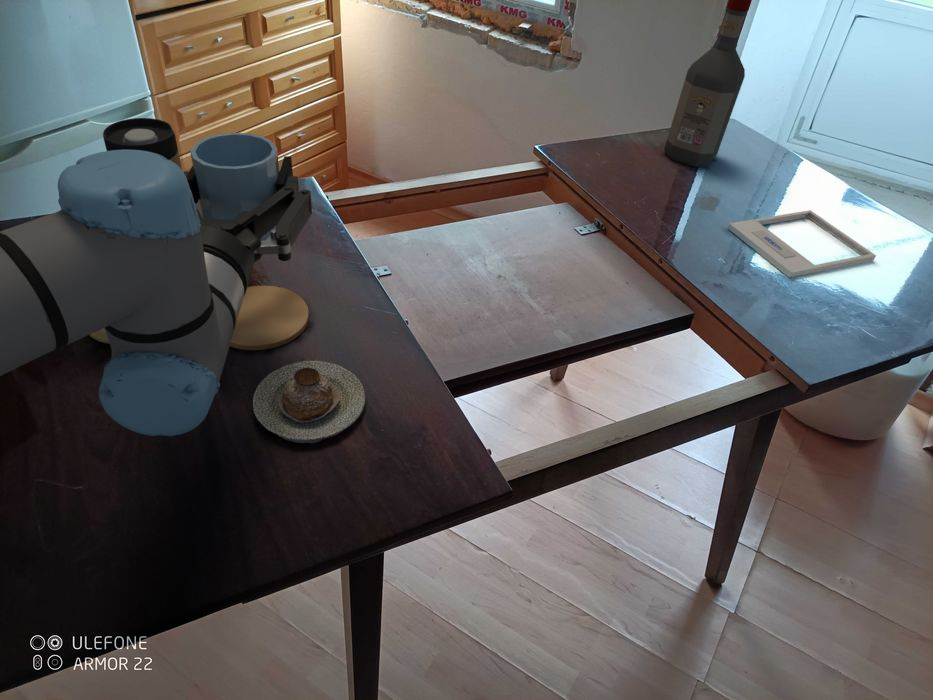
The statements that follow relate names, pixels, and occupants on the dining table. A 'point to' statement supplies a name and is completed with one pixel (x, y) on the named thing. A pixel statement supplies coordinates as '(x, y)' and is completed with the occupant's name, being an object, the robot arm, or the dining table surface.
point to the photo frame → (786, 255)
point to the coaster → (269, 318)
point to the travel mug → (143, 137)
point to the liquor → (709, 95)
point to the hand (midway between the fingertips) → (247, 165)
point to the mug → (234, 174)
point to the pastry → (308, 401)
